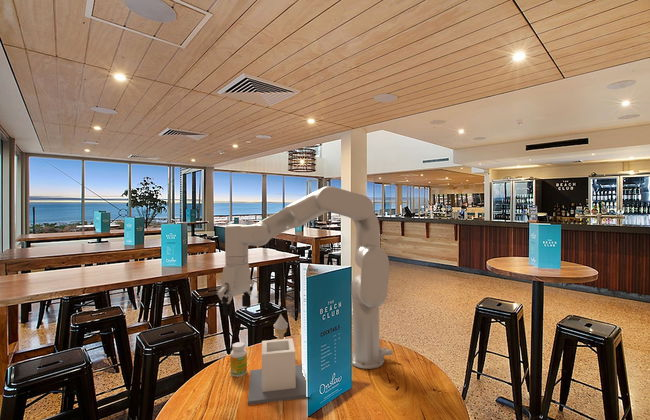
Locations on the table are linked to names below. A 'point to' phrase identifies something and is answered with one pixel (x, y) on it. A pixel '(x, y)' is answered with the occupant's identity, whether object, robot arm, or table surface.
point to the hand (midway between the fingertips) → (237, 310)
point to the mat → (277, 395)
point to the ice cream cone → (281, 327)
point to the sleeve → (278, 365)
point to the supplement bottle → (238, 359)
